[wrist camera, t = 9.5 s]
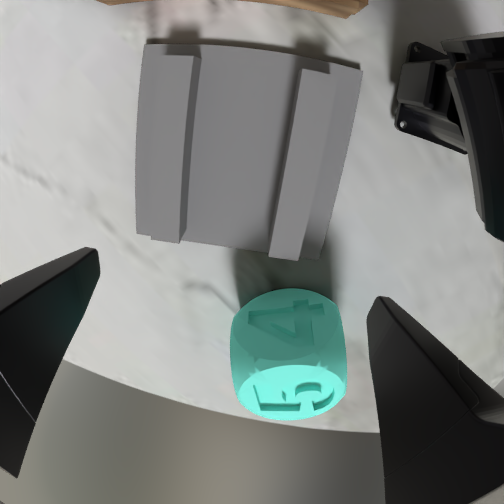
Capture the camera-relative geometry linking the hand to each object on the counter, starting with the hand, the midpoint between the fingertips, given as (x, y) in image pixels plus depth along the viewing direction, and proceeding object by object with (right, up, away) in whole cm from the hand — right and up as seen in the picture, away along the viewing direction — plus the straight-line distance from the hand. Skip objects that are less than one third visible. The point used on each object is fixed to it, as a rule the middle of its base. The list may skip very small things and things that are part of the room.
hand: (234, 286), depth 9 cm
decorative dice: (+4, -5, +18) cm, 19 cm away
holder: (0, +8, +11) cm, 13 cm away
